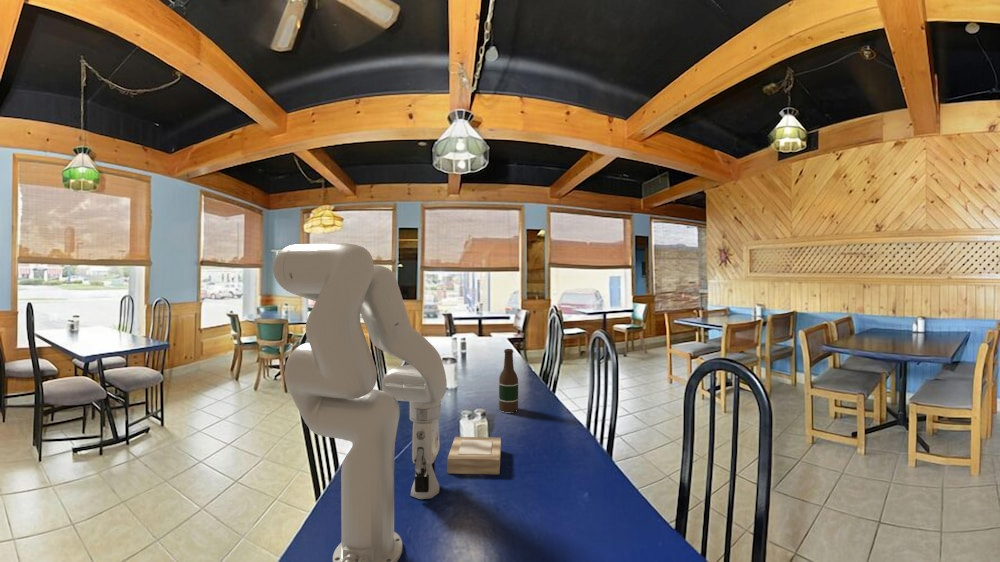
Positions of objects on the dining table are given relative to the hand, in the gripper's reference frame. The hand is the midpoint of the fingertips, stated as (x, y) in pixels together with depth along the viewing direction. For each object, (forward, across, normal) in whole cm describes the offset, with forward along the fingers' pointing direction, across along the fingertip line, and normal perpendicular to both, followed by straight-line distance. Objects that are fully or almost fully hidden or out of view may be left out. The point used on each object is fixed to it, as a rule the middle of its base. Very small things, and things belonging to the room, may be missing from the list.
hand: (425, 482), depth 97 cm
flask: (+2, 0, 0) cm, 2 cm away
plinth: (+2, +16, -11) cm, 20 cm away
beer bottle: (+2, +58, -20) cm, 61 cm away
